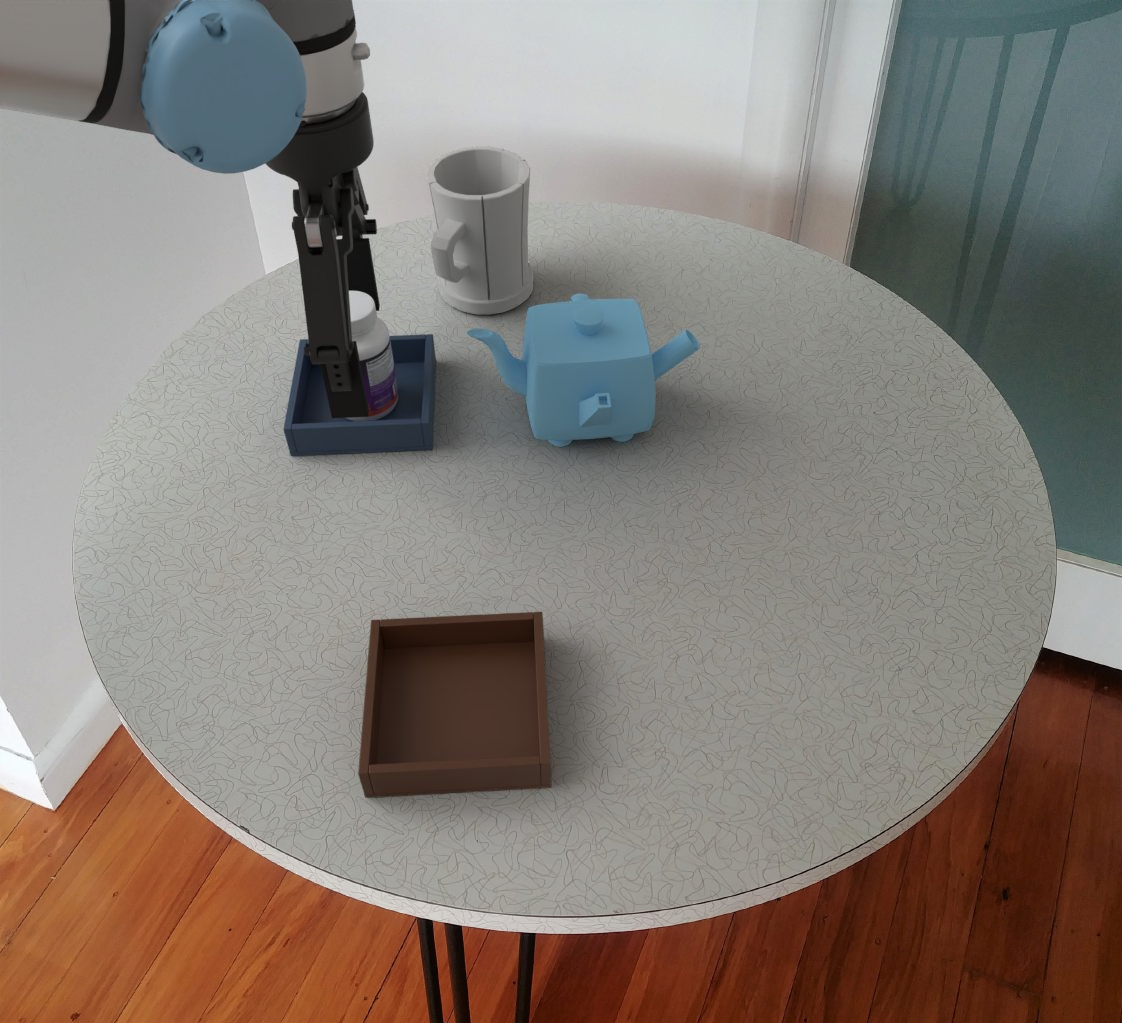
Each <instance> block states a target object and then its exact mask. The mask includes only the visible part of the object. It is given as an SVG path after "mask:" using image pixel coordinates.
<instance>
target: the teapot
mask: <svg viewBox="0 0 1122 1023" xmlns="http://www.w3.org/2000/svg"><path fill="white" fill-rule="evenodd" d="M640 306H641V305H640V304H639V302H638V300H637V299H634V298H596V299H590V296H589V295H588V294H586V293H576V294H573V295H571V296H570V300H568V301H558V302H547V303H542V304H536V305H532V306H530V307H528V308H527V313H526V318H525V325H524V331H523V332H524V333H523V339H522V340H523V342H522V343H523V344H522V359H521V358H518V357H515V356H514V355H513V354H512V353H511V351H510V350H509V348H508V345H507V343H506V341H505V340H504V338H503V337H502V336H501V335H500V334H499V333H497V332H496V331H493V330H492V329H491V330H490V329H487V328H471V329H468V330H467V331H466V334H467V335H468V336H469V337H471V338H473V339H476V340H477V341H480V342H482V343H483V344H485V346H487V348H488V349H489V350H490V352H491V354H492V356H493V359H494V361H495V364H496V367H497V370H498V373H499V375H500V378H501V379H502V381H503V382H504V383H505V385H506V387H508V388H509V389H511V391H513V392H515V393H516V394H518V395H522V396H523V397H524V398H525V403H526V410H527V415H528V420H529V425H530V427H531V431H532V434H533V437H534V438H535V439H537V440H541V441H548V443H550V445H552V446H555V447H561V448H562V447H566V446H569V445H570V444H571V443H572V442H573V441H574V440H577V441H578V440H591V439H592V440H594V439H605V438H610V439H612V440H613V441H616V442H621V443H622V442H623V443H624V442H627V441H630V440H632V439H633V437H634V436H635V434H640V433H644V432H647V431H650V430H651V428H652V426H653V424H654V420H655V417H656V400H657V399H656V398H657V397H656V396H657V395H656V381H657V380H658V379H659V378H661V377H662V376H663V375H665V374H667V373H668V372H670V371H671V370H672V369H674V368H675V367H677V366H678V365H679V364H680V363H682V362H683V361H686V359H688V358H689V357H690V356H692V355H694V354H695V353H696V352H697V351H699V350H700V349H701V345H700V343H699V341H698V339H697V337H696V336H695V335H694V334H693V332H691V331H690V330H689V329H687V328H686V329H684V330H683V331H682V332H680V333H679V334H678V335H677V336H675V337H673V338H672V339H671V340H670V341H668V342H667V343H665V344H664V345H662V346H661V347H660V348H658V349H657V350H655V351H654V352H652V349H651V344H650V339H649V335H648V331H647V328H646V324H645V320H644V317H643V312H642V310H641V307H640Z"/></svg>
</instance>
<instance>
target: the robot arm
mask: <svg viewBox="0 0 1122 1023" xmlns="http://www.w3.org/2000/svg"><path fill="white" fill-rule="evenodd" d="M356 24H357V23H356V14H355V10H354V5H353V0H0V109H1V110H7V111H12V112H13V111H14V112H19V113H26V114H31V115H37V116H43V117H49V118H56V119H62V120H68V121H75V122H80V123H87V124H92V125H98V126H103V127H108V128H113V129H117V130H118V129H119V130H123V131H128V132H129V131H130V132H135V133H143V134H148V135H151V136H153V137H154V138H155V140H156V141H157V142H158V144H160V145H161V146H162V147H163V148H164V149H166V150H167V151H168V152H170V153H172V154H175V155H177V156H179V158H180V159H183V160H184V161H186V162H187V163H189V164H191V165H193V166H194V167H196V168H199V169H201V170H203V171H206V172H207V171H208V172H211V173H215V174H217V173H218V174H224V175H226V174H227V175H229V174H240V173H244V172H245V173H246V172H247V171H251V170H255V169H257V168H259V167H261V166H263V165H266V166H267V167H268V168H269V169H270V170H272V171H274V173H277V174H280V175H282V176H285V177H287V178H290V179H292V180H293V181H295V182H296V184H297V186H298V188H294V189H293V190H292V207H293V208H292V209H293V211H294V213H295V215H294V216H292V221H291V229H292V231H293V236H294V240H295V244H296V251H297V255H298V256H297V257H298V264H299V270H300V272H299V273H300V279H301V289H302V298H303V305H304V314H305V321H306V331H307V339H309V347H304V352H305V355H306V356H309V357H310V359H311V363H312V364H320V367H321V371H322V376H323V380H324V385H325V389H326V394H327V398H328V403H329V407H330V412H331V416H332V418H350V417H368V414H369V408H368V403H367V397H366V392H365V386H364V381H363V376H362V370H361V365H360V360H359V354H358V349H357V343H356V341H352V331H351V316H350V302H349V291H360V292H364V293H366V294H368V295H369V296H371V297H372V299H373V300H374V303H375V307H376V312H380V307H381V306H380V298H379V292H378V287H377V279H376V274H375V273H376V272H375V267H374V262H373V261H374V260H373V255H372V247H371V243H370V238H369V237H364V236H367V235H378V234H377V233H378V225H377V220H376V218H366V216H368V213H369V210H370V205H369V204H368V201H367V197H366V194H365V191H364V190H365V189H364V186H363V183H362V179H361V175H360V172H359V168H358V167H360V166H361V165H362V164H363V163H365V162H366V161H367V160H368V158H369V157H370V156H371V154H372V152H373V149H374V144H375V143H374V142H375V141H374V132H373V126H372V120H371V113H370V106H369V101H368V97H367V95H366V93H364V92H363V91H364V88H365V79H364V73H363V71H364V70H363V65H362V61H364V60H367V59H369V58H370V56H371V49H370V46H369V44H368V43H367V42H357V41H356V40H357V38H358V32H357V25H356ZM337 237H341V238H337Z"/></svg>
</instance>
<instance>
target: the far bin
mask: <svg viewBox="0 0 1122 1023" xmlns="http://www.w3.org/2000/svg"><path fill="white" fill-rule="evenodd" d="M389 336H390V342H391V348H392V355H393V361H394V368H395V375H396V382H397V388H398V402H397V404H396V406H395V408H394V409H393V410H392V411H391V412H390V413H389V414H388V415H386V416H384V417H383V418H380V419H378V420H375V421H351V420H348V419H345V418H332V416H331V412H330V407H329V403H328V398H327V394H326V389H325V385H324V380H323V376H322V371H321V367H320V364H312V363H311V359H310V357H309V356H306V355H305V352H304V347H309V339H308V338H303V339H299V342H298V348H297V353H296V358H295V364H294V369H293V376H292V379H291V380H292V381H291V386H290V391H289V397H288V402H287V407H286V414H285V419H284V424H283V433H284V436H285V440H286V443H287V448H288V451H289V455H290V457H301V456H303V457H304V456H324V455H325V456H326V455H345V454H347V455H348V454H349V455H350V454H368V453H369V454H370V453H392V452H394V453H395V452H414V451H415V452H416V451H417V452H418V451H433V448H434V446H433V445H434V424H435V421H434V420H435V400H436V399H435V398H436V397H435V396H436V375H437V374H436V372H437V356H436V349H435V348H436V347H435V340H434V339H435V338H434V334H433V333H425V334H424V333H423V334H400V335H399V334H398V335H389Z"/></svg>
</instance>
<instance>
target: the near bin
mask: <svg viewBox="0 0 1122 1023" xmlns="http://www.w3.org/2000/svg"><path fill="white" fill-rule="evenodd" d="M544 631H545V630H544V615H543V611H526V612H509V613H508V612H504V613H485V614H484V613H483V614H464V615H462V614H461V615H443V616H423V617H405V618H403V617H401V618H383V619H382V618H381V619H371V620H370V629H369V641H368V651H367V664H366V676H365V686H364V698H363V699H364V700H363V702H364V703H363V712H362V723H361V724H362V725H361V735H360V736H361V737H360V746H359V747H360V748H359V758H358V759H359V760H358V769H357V770H358V772H357V775H358V778H359V782H360V784H361V787H362V791H363V795H364V798H365V799H367V798H387V797H388V798H389V797H403V796H421V795H443V794H460V793H463V794H464V793H479V792H498V791H516V790H534V789H551V788H552V770H551V769H552V764H551V763H552V762H551V745H550V742H551V741H550V724H549V709H548V707H549V706H548V705H549V704H548V688H547V671H546V670H547V669H546V652H545V651H546V649H545V636H544V635H545V634H544V633H545V632H544Z"/></svg>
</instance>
